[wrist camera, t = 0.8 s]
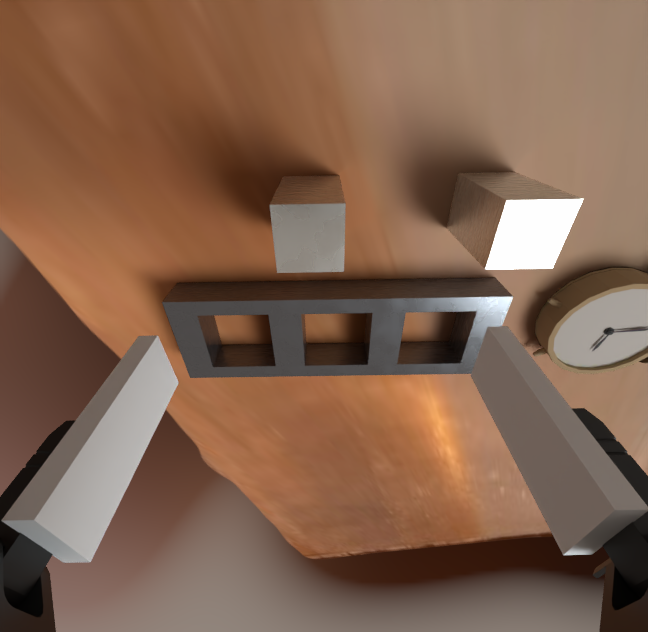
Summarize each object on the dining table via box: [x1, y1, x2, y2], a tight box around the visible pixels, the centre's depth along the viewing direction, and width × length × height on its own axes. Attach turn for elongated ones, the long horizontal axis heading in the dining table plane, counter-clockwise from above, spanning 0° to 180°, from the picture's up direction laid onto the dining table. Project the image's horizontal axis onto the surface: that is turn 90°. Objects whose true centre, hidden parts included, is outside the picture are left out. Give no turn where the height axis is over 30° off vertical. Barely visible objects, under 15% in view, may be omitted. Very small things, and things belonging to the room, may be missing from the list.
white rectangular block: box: [447, 172, 583, 269], centre depth 23 cm, size 4×4×8 cm
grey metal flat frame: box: [162, 278, 513, 378], centre depth 32 cm, size 10×31×4 cm, turn 91°
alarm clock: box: [533, 268, 648, 374], centre depth 32 cm, size 11×5×15 cm
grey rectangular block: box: [270, 175, 345, 273], centre depth 23 cm, size 4×4×8 cm
